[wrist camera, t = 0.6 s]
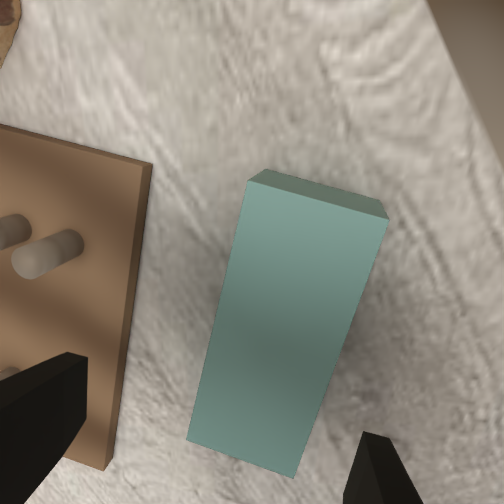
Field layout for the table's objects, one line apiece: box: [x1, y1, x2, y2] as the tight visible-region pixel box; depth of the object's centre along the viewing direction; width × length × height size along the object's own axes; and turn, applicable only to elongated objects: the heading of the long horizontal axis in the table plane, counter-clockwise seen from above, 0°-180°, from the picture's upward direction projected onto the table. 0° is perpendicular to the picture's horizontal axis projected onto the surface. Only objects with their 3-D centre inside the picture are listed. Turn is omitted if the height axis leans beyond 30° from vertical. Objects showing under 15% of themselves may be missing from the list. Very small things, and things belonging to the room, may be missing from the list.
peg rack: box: [0, 124, 152, 471], centre depth 20 cm, size 18×9×4 cm, turn 167°
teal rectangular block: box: [186, 169, 389, 478], centre depth 18 cm, size 12×5×4 cm, turn 166°
